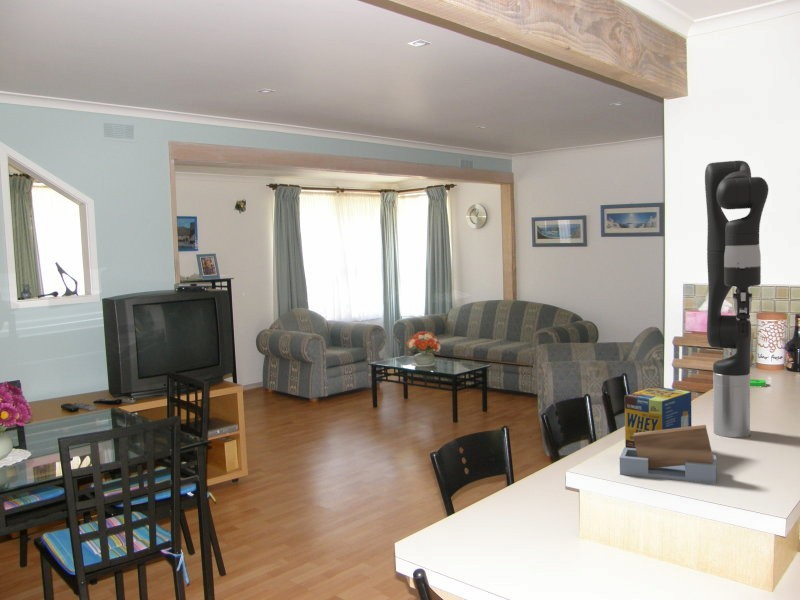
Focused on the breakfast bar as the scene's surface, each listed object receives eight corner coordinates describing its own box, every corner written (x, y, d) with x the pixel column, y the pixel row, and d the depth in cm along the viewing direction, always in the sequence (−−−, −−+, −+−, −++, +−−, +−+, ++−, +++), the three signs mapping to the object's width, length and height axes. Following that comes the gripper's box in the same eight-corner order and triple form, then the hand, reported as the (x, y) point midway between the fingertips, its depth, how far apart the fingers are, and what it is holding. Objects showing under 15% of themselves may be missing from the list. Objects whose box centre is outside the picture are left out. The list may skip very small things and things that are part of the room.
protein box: (624, 454, 175) (623, 395, 174) (655, 441, 185) (655, 385, 184) (662, 463, 167) (661, 401, 166) (693, 449, 177) (692, 390, 176)
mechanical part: (730, 387, 249) (730, 365, 248) (728, 384, 255) (728, 363, 254) (766, 388, 245) (766, 366, 244) (764, 385, 250) (764, 363, 250)
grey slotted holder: (624, 463, 168) (624, 447, 167) (716, 472, 159) (716, 455, 159) (619, 474, 160) (619, 457, 160) (715, 483, 151) (715, 466, 151)
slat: (642, 465, 163) (634, 432, 163) (713, 458, 156) (705, 424, 156) (640, 469, 160) (632, 436, 161) (713, 462, 153) (704, 427, 153)
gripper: (724, 264, 164) (724, 330, 165) (724, 266, 151) (724, 338, 153) (759, 263, 161) (759, 331, 162) (762, 265, 148) (762, 339, 149)
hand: (742, 334), depth 157 cm, fingers open, 8 cm apart
